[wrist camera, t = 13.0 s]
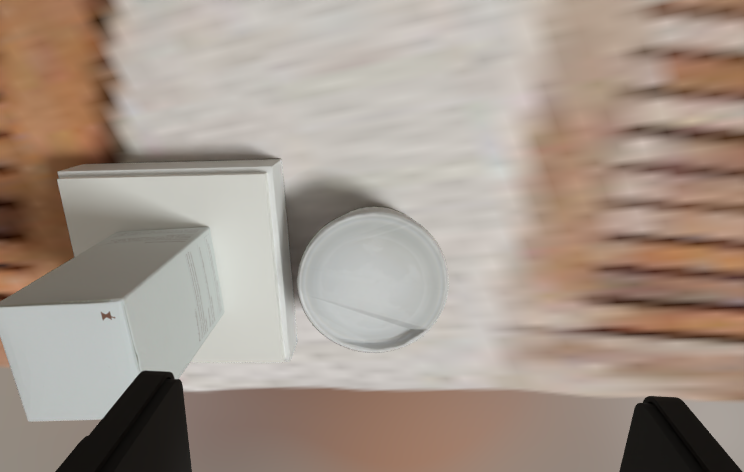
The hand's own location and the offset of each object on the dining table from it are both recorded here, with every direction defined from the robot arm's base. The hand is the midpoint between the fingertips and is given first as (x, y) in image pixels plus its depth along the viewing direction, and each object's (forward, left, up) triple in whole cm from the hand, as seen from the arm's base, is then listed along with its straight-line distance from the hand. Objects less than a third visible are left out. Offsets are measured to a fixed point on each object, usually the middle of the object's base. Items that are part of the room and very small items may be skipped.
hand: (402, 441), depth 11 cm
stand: (+7, -17, -31) cm, 36 cm away
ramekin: (+8, -2, -31) cm, 32 cm away
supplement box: (+7, -17, -27) cm, 33 cm away
